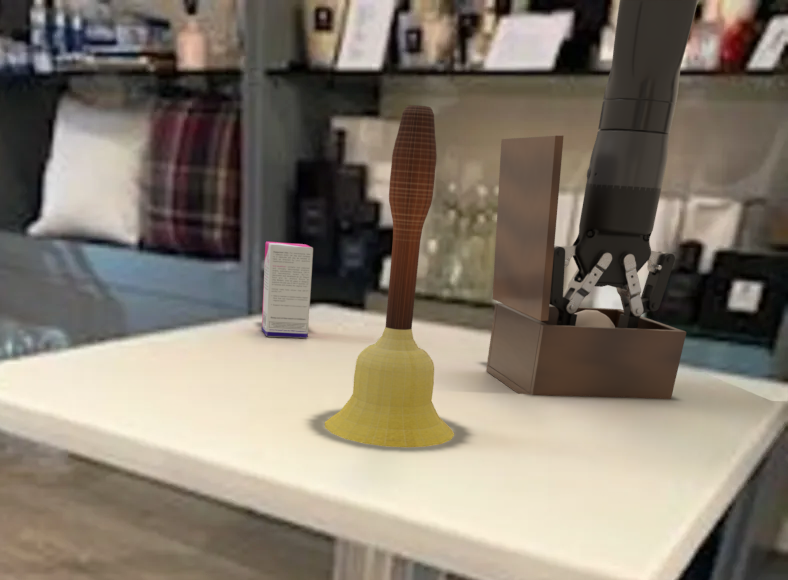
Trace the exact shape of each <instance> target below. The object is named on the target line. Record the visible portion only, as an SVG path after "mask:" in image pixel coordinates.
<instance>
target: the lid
mask: <svg viewBox="0 0 788 580" xmlns="http://www.w3.org/2000/svg"><path fill="white" fill-rule="evenodd" d="M564 136H565V135H563V134H558V135H557V134H556V135H554V134H553V135H539V136H527V137H526V136H524V137H508V138H501V139H500V154H499V155H500V156H499V175H498V191H497V193H498V195H497V210H496V211H497V212H496V229H495V230H496V231H495V246H494V247H495V248H494V267H493V268H494V269H493V283H492V284H493V285H492V300H494V301H496V302H497V303H502V304H505V305H507V306H509V307H511V308H513V309H516V310H518V311H520V312H522V313H524V314H527V315H529V316H531V317H533V318H535V319H538V320H540V321H548V316H549V306H550V292H551V280H552V268H553V256H554V245H555V243H556V231H557V221H558V220H557V219H558V209H559V208H558V206H559V195H560V184H561V183H560V182H561V171H562V159H563V150H564V149H563V147H564Z"/></svg>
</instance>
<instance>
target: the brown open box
mask: <svg viewBox="0 0 788 580" xmlns="http://www.w3.org/2000/svg"><path fill="white" fill-rule="evenodd" d="M583 310H597V311H599V312H601V313H603V314H605V315H606V316H607V317H609V318H610V320H611V321H612V323H613V324H614V326H615V328H613V327H589V326H566V325H557V320H558V314H559V312H558V309H557V308H556V307H554V306H552V305H549V316H548V321H540V320H538V319H535V318H533V317H531V316H529V315H527V314H524V313H522V312H520V311H518V310H516V309H513V308H511V307H509V306H507V305H505V304H502V303H500V302H495V303H494V311H493V317H492V324H491V334H490V338H489V339H490V340H489V347H488V354H487V361H486V370H485V371H486V372H487V373H488V374H490V375H492V376H493V377H494V378H495V379H497V380H498V381H500V382H501V383H503V384H504V385H505V386H507V387H508V388H510V389H511V390H512V391H514V392H515V393H517V394H520V395H532V396H553V397H554V396H556V397H559V396H560V397H590V398H592V397H593V398H621V399H622V398H626V399H627V398H628V399H659V400H662V399H663V400H671V399H672V397H673V391H674V389H675V384H676V379H677V376H678V375H677V374H678V370H679V367H680V362H681V357H682V353H683V348H684V345H685V341H686V337H687V336H686V335H687V331H685V330H683V329H679V328H676V327H674V326H671V325H668V324H665V323H662V322H659V321H657V320H653V319H652V318H651V319H650V318H647V317H645V316H643V315H641V316H640V318H639V321H638V326H637V329H636V328H618V324H619V319H620V314H624V310H623V308H610V307H609V308H607V307H605V308H604V307H585V306H579V307H578V309H577V310H576V312H575V313H577V312H580V311H583Z"/></svg>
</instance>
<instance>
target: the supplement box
mask: <svg viewBox="0 0 788 580" xmlns="http://www.w3.org/2000/svg"><path fill="white" fill-rule="evenodd" d="M264 246H265V247H264V248H265V249H264V265H263V267H264V268H263V270H264V271H263V290H262V292H263V293H262V312H261V313H262V314H261V315H262V316H261V331H262V332H263V334H264V336H265V337H268V338H296V339H307V338H308V336H309V324H310V323H309V321H310V309H311V308H310V306H311V292H312V291H311V290H312V275H313V258H314V247H313V246H310V245H308V244H305V243H304V244H303V243H291V242H279V241H278V242H277V241H267V240H266V242H265V245H264Z"/></svg>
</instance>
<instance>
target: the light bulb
mask: <svg viewBox="0 0 788 580" xmlns="http://www.w3.org/2000/svg"><path fill="white" fill-rule="evenodd" d="M574 314H577V319H576V325H575V326H589V327H613V328H615V326H614V324H613V323H612V321H611V320H610V318H609V317H607V316H606V315H605V314H603V313H601V312H599V311H597V310H583V311H580V312H577V313H574Z"/></svg>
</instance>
